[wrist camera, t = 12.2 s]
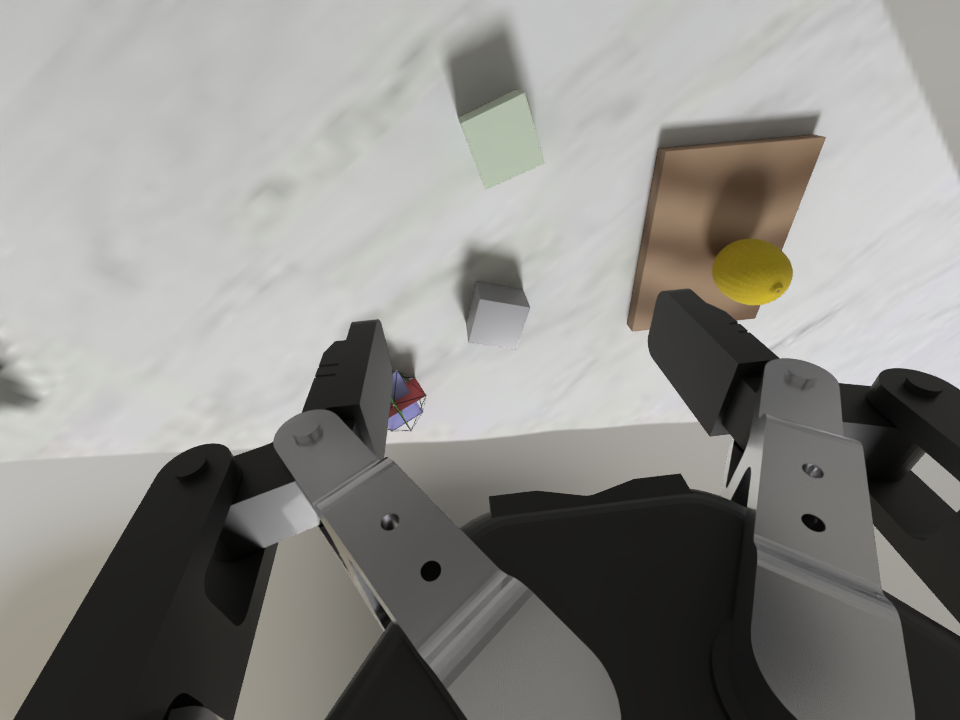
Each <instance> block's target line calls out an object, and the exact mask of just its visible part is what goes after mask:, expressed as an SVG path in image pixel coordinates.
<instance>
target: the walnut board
mask: <svg viewBox="0 0 960 720" xmlns="http://www.w3.org/2000/svg"><path fill="white" fill-rule="evenodd" d="M825 138H826V137H823V136H818V135H802V136H791V137H780V138H769V139H757V140H746V141H735V142H724V143H713V144H702V145H690V146H679V147H668V148H658V152H657V157H656V163H655V169H654V174H653V180H652V186H651V191H650V197H649V203H648V208H647V214H646V220H645V225H644V231H643V237H642V242H641V248H640V254H639V259H638V265H637V271H636V276H635V282H634V288H633V293H632V299H631V305H630V310H629V316H628V322H627V325H628V326H629V328H630V329H631V331H641V330H650V326H651V322H652V317H653V312H654V308H655V303H656V299H657V296H658V294H659V293H660V292H661V291H667V290H676V289H686V288H689V289H691V290H692V291H694V292H695V293H696V294H697V295H698V296H699V297H700V298H701V299H702V300H704V301H705V302H706V303H709V304H711V305H713V306H715V307H717V308H719V309H721V310H723V311H726V312H727V313H728V314H729V315H730V316H731V317H733V318H734V319H735V320H745V319H754V318H755V317H756V315H757V312H758V310H759V307H760V305H746V304H742V303H739V302H736V301H734V300H732V299H730V298H729V297H727V296H726V295H724V294H723V293H722V292H721V291H720V290H719V288H718V287H717V286H716V284H715V282H714V280H713V276H712V266H713V263H714V260H715V258H716V256H717V255H718V254H719V252H720V251H721V250H722V249H723V248H725V247H726V246H727V245H729V244H731V243H733V242H735V241H738V240H741V239H749V238H752V239H760V240H764V241H767V242H769V243H771V244H773V245H775V246H776V247H778V248H779V249H780V250H781V251H782V248H783V246H784V243H785V241H786V238H787V236H788V233H789V230H790V228H791V225H792V223H793V220H794V218H795V215H796V213H797V210H798V207H799V205H800V202H801V200H802V197H803V195H804V192H805V190H806V187H807V184H808V182H809V179H810V177H811V174H812V172H813V169H814V167H815V164H816V161H817V159H818V156H819V154H820V151H821V149H822V146H823V143H824V141H825Z"/></svg>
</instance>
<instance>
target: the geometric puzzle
mask: <svg viewBox="0 0 960 720" xmlns="http://www.w3.org/2000/svg"><path fill="white" fill-rule="evenodd" d="M393 372H394V371H393ZM401 373H402V372H401ZM401 373H400V374H401ZM392 374H393V386H392V395H391V403H390V411H389V419H388V426H389V428H390V429H387V430H391V432H393V430H395V429H397V428H398V427H400V426H402V425H403V424H405V423H406V425H407V426H408V424H407V422H408V421H410V420H411V419H413V418H414V417H416V416H418V415H419V414H421V413H423V410H421V408H422V405H421V408H420V407H419V405H418V403H417V402H416V401H418V400H419V399H421V398H423V397H424V396H425V397H426V396H427V395H426V394H425V393H424V391H423V390H422V388H421V386H420V385H419V383H418V382H417V380H416V379H415V378H416V377H414V379H412V380H410V381H409V380H408V379H407V380H408V381H409V382H407V383H404V381H403V379H402V378H401V376H400V375H399V373H398V371H397V370H396V371H395V372H394V373H392ZM401 375H402V374H401ZM406 375H407V374H406ZM402 376H403V375H402ZM403 377H404V376H403ZM404 378H405V377H404ZM407 378H413V377H412V376H411V377H407ZM425 399H426V398H424V400H425ZM423 402H424V401H423ZM420 404H421V401H420ZM422 404H423V403H422ZM424 404H425V403H424ZM423 409H424V408H423ZM416 418H417V417H416ZM419 418H420V417H419ZM415 421H416V420H415ZM417 421H418V420H417ZM414 423H415V422H414ZM413 425H414V424H413ZM414 426H415V425H414ZM408 428H409V426H408ZM409 429H410V428H409ZM412 429H413V427H412ZM412 429H410V431H411V432H412ZM404 431H409V430H404Z"/></svg>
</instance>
